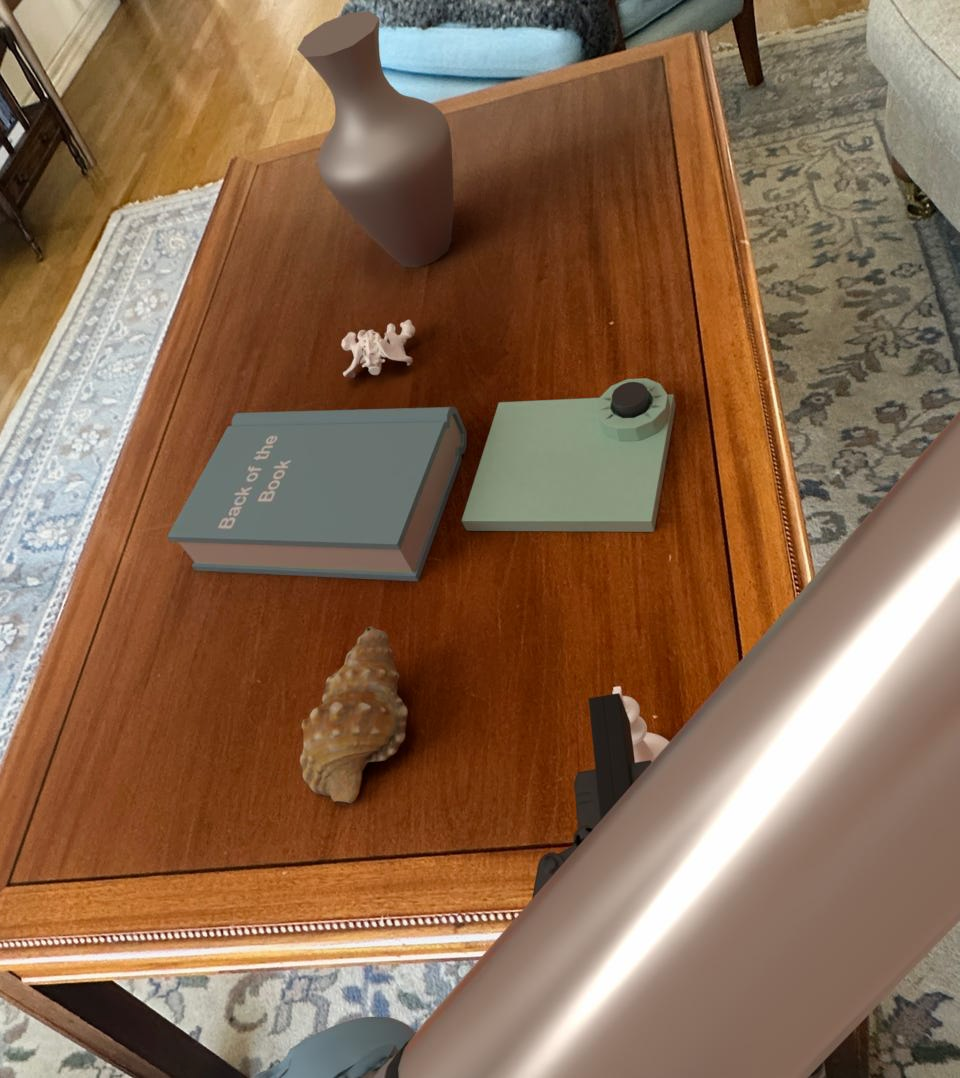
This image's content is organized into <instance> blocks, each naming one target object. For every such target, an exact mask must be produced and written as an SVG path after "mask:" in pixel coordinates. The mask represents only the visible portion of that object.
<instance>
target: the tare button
mask: <svg viewBox="0 0 960 1078" xmlns="http://www.w3.org/2000/svg"><path fill="white" fill-rule="evenodd" d="M612 401H613V405H614V409H615V412H616V413H617V414H618V415H619V416H620V417H623V418H635V417H637V416H639V415H642V414H644V413H645V412H646V411H647V410H648V408H649V406H650V399H649V395H648V390H647V388H646V387H645V386H644V385H643V384H641V383H639V382H628V383H625V384H622V385H620V386H619V387H617V388H616V389H615V390H614V392H613V394H612Z"/></svg>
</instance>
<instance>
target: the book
mask: <svg viewBox="0 0 960 1078" xmlns="http://www.w3.org/2000/svg"><path fill="white" fill-rule="evenodd" d="M467 432H468V431H467V430H466V426H465V424H464V422H463V421H462V418H461V416H460V414H459V411H458V409H457V407H456V406H439V407H437V406H436V407H434V406H433V407H403V408H398V407H397V408H367V409H366V408H365V409H330V410H329V409H328V410H327V409H324V410H292V411H291V410H289V411H256V412H235V413H234V415H233V416H232V418H231V425H230V426H229V425H228V426H227V428H226V429H225V431H224V433H223V435H222V436H221V438H220V440H219V442H218V444H217V446H216V447H215V449H214V451H213V452H212V455H211V456H210V458H209V460H208V462H207V463H206V465H205V467H204V468H203V470H202V473H201V474H200V476H199V478H198V479H197V482H196V483H195V486H194V487H193V489H192V490H191V492H190V494H189V496H188V497H187V500H186V501H185V503H184V505H183V507H182V509H181V511H180V512H179V514H178V516H177V518H176V520H175V522H174V523H173V525H172V527H171V529H170V530H169V532H168V534H167V536H166V537H167V539H168V540H169V541H170V542H172V543H178V544H179V545H180V546H181V548H182V549H183V550H184V551H185V552H186V554H187V555H188V557H190V559H192V561H193V562H192V565H191V567H192V569H193V570H194V571H196V572H215V573H237V574H255V575H256V574H257V575H274V576H275V575H277V576H301V577H319V578H339V579H340V578H342V579H359V580H360V579H361V580H362V579H364V580H382V581H401V582H419V580H420V578H421V575H422V572H423V570H424V567H425V564H426V561H427V558H428V557H429V553H430V550H431V547H432V545H433V542H434V539H435V536H436V533H437V531H438V528H439V525H440V522H441V519H442V517H443V514H444V511H445V508H446V505H447V503H448V500H449V497H450V495H451V491H452V489H453V487H454V483H455V481H456V478H457V475H458V472H459V470H460V467H461V464H462V460H463V459H462V457H463V456H462V455H464V454H465V452H466V450H467V447H468V442H467V441H468V439H467V437H468V436H467V435H468V433H467Z"/></svg>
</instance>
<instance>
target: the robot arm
mask: <svg viewBox="0 0 960 1078" xmlns="http://www.w3.org/2000/svg"><path fill="white" fill-rule="evenodd" d="M588 707H589V718H590V727H591V736H592V748H593V758H594V769H587V770H581V771H577V772H576V776H575V778H574V782H573V785H574V798H575V809H576V822H577V829H576V830H575V832H574V833H573V839H572V840H573V841H572V842H574V843H573V844H572V845H571V846H569V847H568V848H566V849H564V850H561V851H560V852H554V851H553V852H547V853H545V854H544V855H543V856H541V858H540V859H539V860H538V864H537V868H536V874H535V880H534V886H533V891H532V895H531V899H530V901H529V902H528V903H527V904H526V905H525V906H524V907H523V909H522V910H521V911H520V912H519V914H518V915H516V917H515V918H514V919H513V920H512V921H511V923H510V924H508V926H507V927H506V928H505V929H504V931H502V933H501V934H500V935H499V936H498V937H497V939H495V941H494V942H493V943H492V944H491V945H490V947H489V948H488V949H487V950H486V951H485V952H484V953H483V954H482V956H481V957H480V958H479V959H478V960H477V961H476V963H475V964H474V965H473V966H472V967H471V968H470V969H469V970H468V971H467V973H466V974H465V975H464V976H463V977H462V979H461V980H460V981H459V982H458V983H457V984H456V985H455V986H454V987H453V989H452V990H451V991H450V992H449V993H448V994H447V996H446V997H445V998H444V999H443V1000H442V1001H441V1002H440V1003H439V1005H438V1006H437V1007H436V1008H435V1009H434V1010H433V1012H432V1013H430V1015H429V1016H428V1017H427V1019H425V1021H424V1022H423V1023H422V1024H421V1025H420V1026H419V1028H418V1029H417V1031H415V1030H414V1028H412V1027H411V1026H410V1025H408V1024H407V1023H405V1022H403V1020H399V1019H396V1018H393V1017H388V1016H364V1017H359V1018H358V1017H357V1018H353V1019H350V1020H347V1021H346V1020H345V1021H343V1022H339V1023H338V1024H335V1025H333V1026H330V1027H328V1028H326V1029H323V1030H320V1031H319V1032H317V1033H315V1034H312V1035H310V1036H308V1037H306V1038H305V1039H303V1040H302V1041H300V1042H299V1043H297V1044H295V1045H294V1046H293V1047H291V1048H289V1050H288V1052H287V1053H286V1056H284V1058H283V1059H281V1061H280V1062H278V1063H277V1064H275V1065H273V1066H272V1067H270V1068H268V1069H266V1070H263V1071H260V1072H257V1073H256V1074H254V1075H253V1076H252V1077H251V1078H827V1073H826V1066H825V1060H827V1058H828V1057H829V1056H830V1055H831V1054H832V1053H833V1052H835V1050H836V1049H837V1048H838V1047H839V1046H840V1045H841V1044H842V1043H843V1042H844V1041H845V1040H846V1039H847V1038H848V1037H849V1036H850V1035H851V1034H852V1033H853V1032H854V1031H855V1030H856V1029H857V1027H858V1026H859V1025H860V1024H861V1023H862V1022H863V1021H864V1020H865V1019H866V1018H867V1017H869V1015H870V1014H871V1013H872V1012H873V1011H874V1010H875V1009H876V1008H877V1007H878V1006H879V1005H881V1003H882V1002H883V1001H884V999H886V997H888V996H889V994H890V993H891V992H892V991H893V990H894V989H895V988H896V987H897V986H898V985H899V984H901V982H902V981H903V980H904V979H905V978H906V977H907V976H908V975H909V974H910V973H911V972H912V971H913V970H914V969H915V967H916V966H918V964H920V962H921V961H922V960H923V959H924V958H925V957H926V956H927V955H928V954H930V952H931V951H932V950H934V948H935V947H936V946H937V945H938V944H939V943H940V942H941V940H943V939H944V938H945V937H946V936H947V935H948V933H950V932H951V931H952V929H954V927H955V926H956V925H957V924H958V923H959V922H960V410H959V411H958V412H957V413H956V414H955V415H954V416H953V418H952V419H951V420H950V421H949V422H948V423H947V424H946V425H945V427H943V429H942V430H941V431H940V432H939V434H937V436H936V437H935V438H934V439H933V440H932V442H930V443H929V445H928V446H927V447H926V448H925V450H924V451H922V453H920V455H919V456H918V457H917V459H916V460H914V462H913V463H912V464H911V465H910V467H909V468H907V470H905V473H903V474H902V475H901V477H900V478H899V479H898V480H897V481H896V482H895V484H894V485H893V486H892V487H891V488H890V490H888V491H887V493H886V494H885V495H884V496H883V498H881V499H880V501H879V502H878V503H877V504H876V505H875V507H874V508H873V509H872V510H871V511H870V512H869V513H868V515H867V516H866V517H865V518H864V519H863V520H862V521H861V522H860V524H859V525H857V526H856V528H855V530H853V532H852V533H851V534H850V535H849V536H848V537H847V538H846V539H845V541H844V542H843V543H842V544H841V545H840V546H839V548H838V549H837V550H836V551H835V552H834V554H832V556H830V558H829V559H828V560H827V562H825V564H824V565H822V567H821V568H820V569H819V571H817V573H816V574H815V575H814V576H813V578H812V579H810V581H809V582H808V583H807V584H806V585H805V587H804V588H803V589H802V590H800V592H799V593H798V595H797V596H796V597H795V598H794V599H793V600H792V601H791V602H790V603H789V604H788V606H787V607H786V608H785V610H784V611H782V613H781V614H780V615H779V616H778V617H777V619H776V620H774V622H773V623H772V624H771V626H769V628H768V629H767V630H766V631H765V632H764V633H763V635H762V636H761V637H760V638H759V639H758V640H757V642H756V643H755V644H753V646H752V647H751V648H750V649H749V650H748V652H747V653H746V654H745V655H744V656H743V657H742V658H741V659H740V661H739V662H738V663H737V664H736V666H734V668H733V669H732V670H731V671H730V672H729V673H728V675H727V676H726V677H725V678H724V679H723V680H722V681H721V682H720V683H719V685H718V686H717V687H716V688H715V689H714V690H713V692H712V693H711V694H710V695H709V696H708V697H707V699H705V701H704V702H703V703H702V704H701V705H700V706H699V707H698V709H697V710H696V711H695V712H694V714H692V715H691V717H690V718H689V719H688V720H687V721H686V722H685V724H684V725H683V726H682V727H681V728H680V729H679V730H678V732H677V733H676V734H675V735H674V736H673V737H672V738H671V740H670V741H669V743H668V744H667V746H666V747H665V748H664V749H663V750H662V751H661V752H660V754H659V755H658V756H657V757H656V758H655V759H654V760H653V762H651V760H649V761H643V762H636V763H635V758H634V750H633V742H632V735H631V727H630V721H629V718H628V715H627V713H626V710H625V707H624V705H623V702H622V699H621V697H620V694H619V693H617V694H613V693H612V694H606V695H605V694H604V695H600V696H594V697H593V696H592V697H589V698H588Z"/></svg>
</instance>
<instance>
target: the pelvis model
mask: <svg viewBox="0 0 960 1078" xmlns="http://www.w3.org/2000/svg"><path fill="white" fill-rule="evenodd" d="M399 327H400V328H401V333H400V334H397V333H396V328H397V327H396V326H395V324H394V323H393V322H391V323H390V322H389V324H387V327H386V332H384V338H382V337H381V335H380V333H379V332H377V331H375V329H369V330H365V329H361V330H359V331H358V333H356V332H354V331H349V332H347V334H346V335H345V337H343V339H342V340H341V343H340V344H341V345H340V346H341V348H342V350H344V351H346V352H348V351H349V352H350V351H351V352H352V355H353V359H352V362H351V364H350V366H349V367H348V368H347V369H346V370H345V371H343V372H342V375H343V377H345V378H349V379H355V378H356V369H357V367H358V366H359V365H361V367H362V368H365V367H366V368H368V372H369V374H371V375H372V376H378V375H379V374H380V373H381V372H382V364H383V363H386V360H385V358H387V359H389V360H392V361H397V362H405V363H406V366H407V367H408V366H409V367H410V366H411V365H412V364H413V358H412V357H411V356H408V355H407V354H406V350H405V347H404V346H405V344H406V342H407V340H408V339H412V338H413V336H414V335H415V334H416V327H415V326H414V325H413V321H412V320H411V319H407V320H405V321H402V322H400V324H399ZM356 339H358V342H357V341H356ZM382 358H383V359H382Z"/></svg>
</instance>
